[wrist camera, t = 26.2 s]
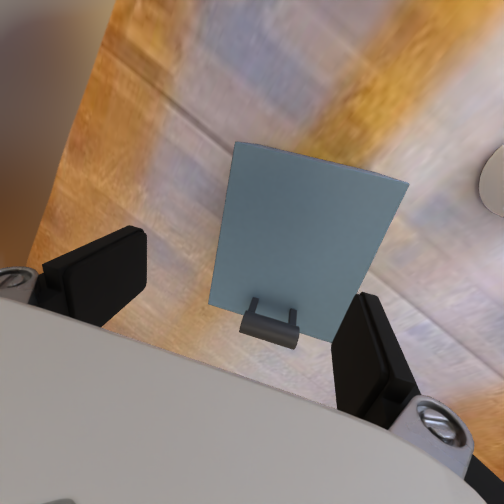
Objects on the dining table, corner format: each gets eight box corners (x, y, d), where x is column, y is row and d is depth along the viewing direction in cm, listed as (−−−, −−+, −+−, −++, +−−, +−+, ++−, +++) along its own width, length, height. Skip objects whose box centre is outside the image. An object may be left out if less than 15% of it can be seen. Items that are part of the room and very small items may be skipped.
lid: (331, 338, 26) (337, 382, 21) (210, 300, 27) (189, 333, 22) (406, 182, 19) (441, 193, 14) (237, 141, 20) (215, 139, 15)
